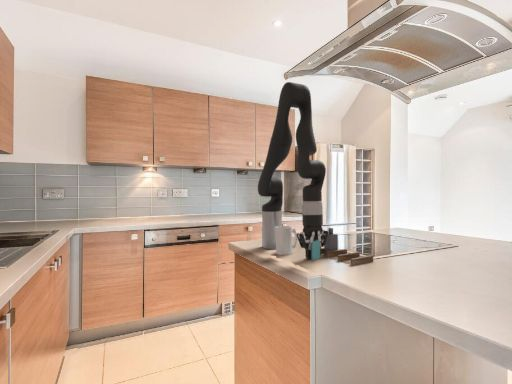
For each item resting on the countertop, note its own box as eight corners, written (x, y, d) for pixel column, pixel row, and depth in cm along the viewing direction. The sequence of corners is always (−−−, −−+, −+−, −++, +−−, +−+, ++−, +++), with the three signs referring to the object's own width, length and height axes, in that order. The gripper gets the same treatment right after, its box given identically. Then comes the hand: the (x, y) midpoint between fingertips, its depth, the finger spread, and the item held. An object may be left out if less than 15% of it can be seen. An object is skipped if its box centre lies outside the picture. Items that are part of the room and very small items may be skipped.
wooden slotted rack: (315, 257, 113) (315, 249, 113) (334, 253, 118) (334, 246, 118) (352, 268, 96) (352, 259, 96) (373, 264, 100) (373, 255, 100)
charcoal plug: (324, 253, 113) (324, 228, 113) (331, 252, 115) (331, 227, 114) (330, 255, 110) (330, 229, 110) (337, 254, 111) (337, 228, 111)
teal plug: (306, 261, 107) (306, 233, 107) (314, 259, 109) (313, 232, 109) (312, 263, 104) (312, 235, 104) (320, 261, 106) (319, 234, 106)
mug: (281, 258, 111) (280, 228, 111) (272, 255, 117) (272, 226, 117) (302, 255, 116) (301, 226, 116) (293, 252, 122) (292, 224, 122)
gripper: (320, 211, 113) (321, 254, 113) (291, 213, 106) (292, 258, 106) (333, 212, 106) (334, 258, 106) (303, 214, 100) (304, 263, 100)
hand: (313, 258), depth 106 cm, fingers closed on teal plug, 3 cm apart
